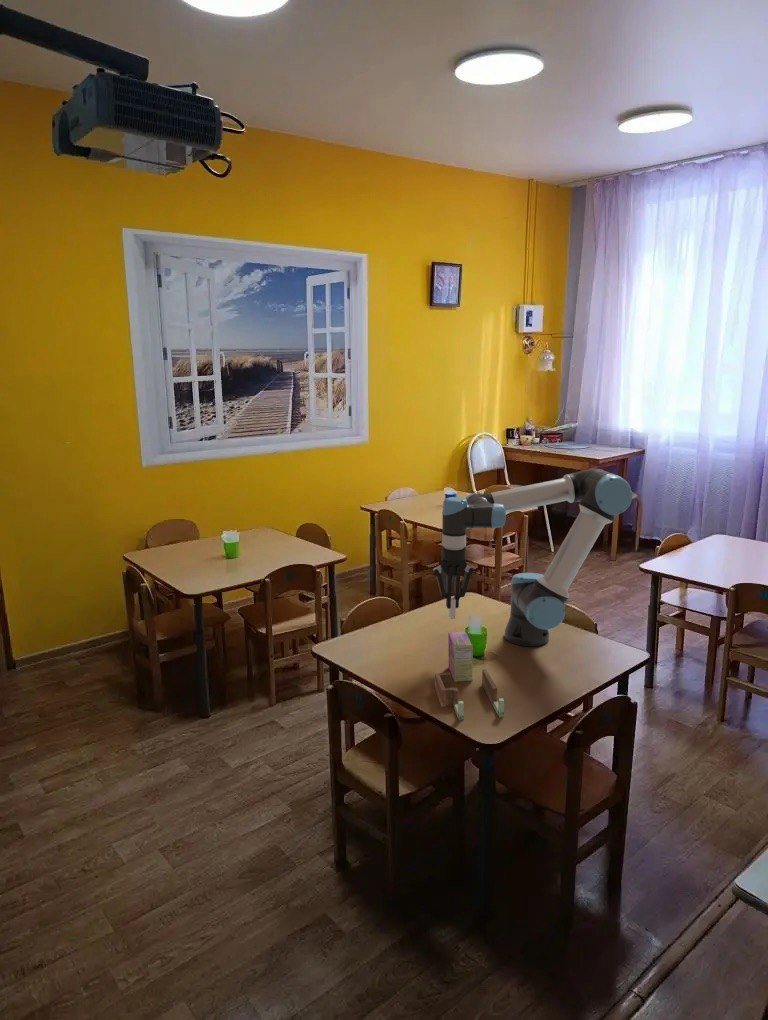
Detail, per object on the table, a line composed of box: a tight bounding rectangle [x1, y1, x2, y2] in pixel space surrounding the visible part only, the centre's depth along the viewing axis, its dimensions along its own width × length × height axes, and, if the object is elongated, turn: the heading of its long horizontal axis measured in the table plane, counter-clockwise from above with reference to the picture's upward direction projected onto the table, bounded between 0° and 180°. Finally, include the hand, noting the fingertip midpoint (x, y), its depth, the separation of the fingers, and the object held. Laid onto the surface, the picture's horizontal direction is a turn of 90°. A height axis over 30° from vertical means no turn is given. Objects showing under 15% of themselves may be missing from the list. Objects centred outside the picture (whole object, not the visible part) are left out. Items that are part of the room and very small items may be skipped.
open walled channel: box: [434, 669, 498, 708], centre depth 199 cm, size 16×12×5 cm
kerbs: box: [453, 698, 505, 721], centre depth 189 cm, size 12×6×5 cm, turn 96°
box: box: [447, 631, 474, 683], centre depth 212 cm, size 10×6×12 cm, turn 5°
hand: (452, 617), depth 221 cm, fingers closed
